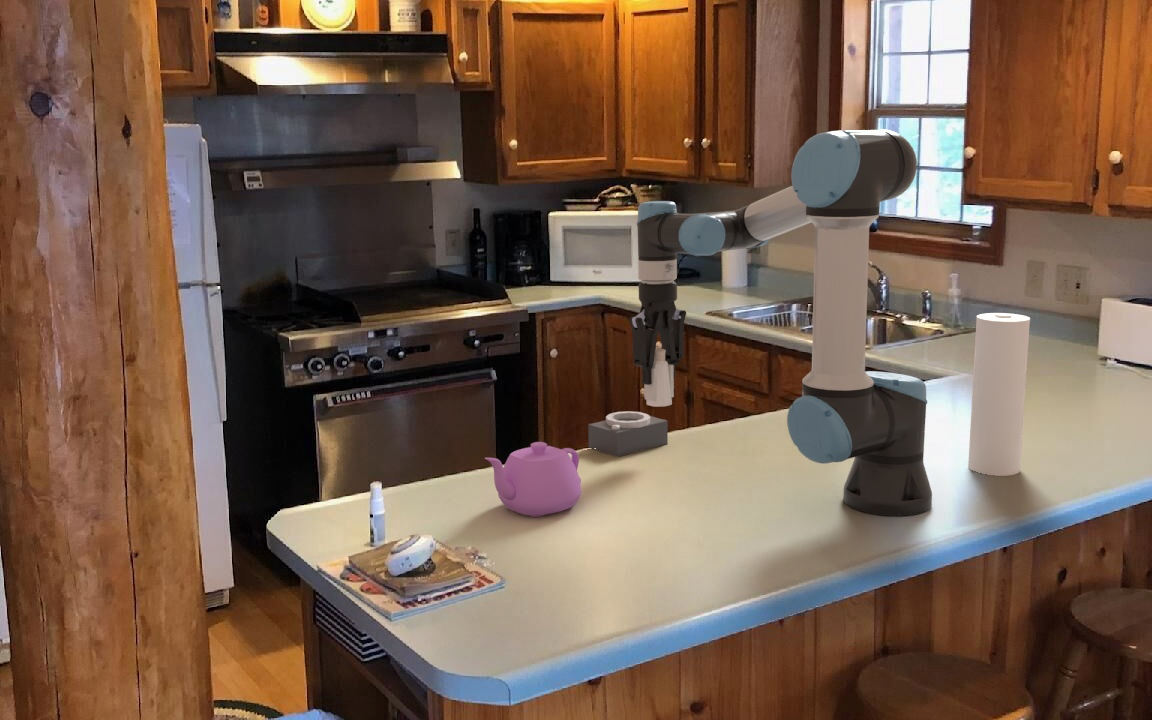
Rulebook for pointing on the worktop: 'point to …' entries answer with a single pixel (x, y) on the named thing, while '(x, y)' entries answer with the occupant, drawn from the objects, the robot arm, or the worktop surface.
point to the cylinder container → (998, 393)
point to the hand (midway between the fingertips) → (659, 397)
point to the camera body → (627, 433)
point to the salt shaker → (661, 380)
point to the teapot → (538, 480)
